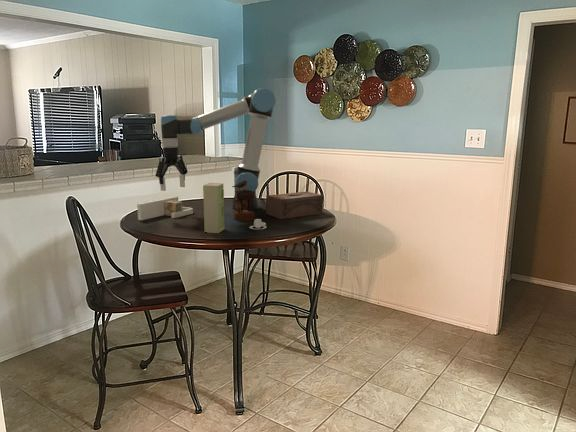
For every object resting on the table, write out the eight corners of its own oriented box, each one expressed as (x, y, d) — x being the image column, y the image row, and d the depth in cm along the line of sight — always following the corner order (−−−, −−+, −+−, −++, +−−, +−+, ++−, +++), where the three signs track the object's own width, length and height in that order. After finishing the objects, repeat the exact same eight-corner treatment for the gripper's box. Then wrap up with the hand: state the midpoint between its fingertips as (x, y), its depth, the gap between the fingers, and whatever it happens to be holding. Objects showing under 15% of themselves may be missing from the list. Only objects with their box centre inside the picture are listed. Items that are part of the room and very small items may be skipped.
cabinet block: (182, 215, 243) (181, 201, 242) (175, 216, 239) (174, 203, 238) (172, 213, 247) (172, 200, 246) (165, 215, 243) (164, 201, 241)
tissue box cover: (281, 219, 234) (281, 199, 232) (266, 214, 246) (266, 195, 244) (322, 213, 248) (322, 195, 246) (306, 209, 260) (306, 191, 258)
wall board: (194, 213, 248) (194, 198, 246) (155, 222, 225) (154, 206, 223) (178, 210, 254) (177, 196, 253) (138, 220, 231) (137, 204, 229)
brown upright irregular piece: (245, 222, 225) (241, 181, 222) (227, 221, 231) (224, 182, 228) (263, 217, 238) (260, 178, 235) (246, 216, 244) (243, 178, 240)
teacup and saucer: (262, 225, 222) (262, 216, 221) (271, 228, 216) (271, 219, 215) (246, 227, 217) (246, 219, 217) (254, 231, 211) (254, 222, 210)
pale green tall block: (220, 233, 205) (218, 185, 200) (204, 232, 206) (202, 185, 202) (226, 229, 212) (225, 183, 208) (210, 228, 214) (209, 182, 209)
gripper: (182, 145, 248) (184, 185, 253) (146, 148, 227) (149, 191, 232) (193, 145, 244) (195, 185, 249) (157, 148, 224) (160, 192, 228)
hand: (173, 188), depth 240 cm, fingers open, 13 cm apart
